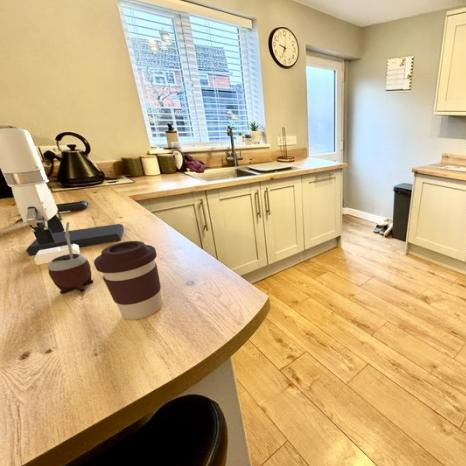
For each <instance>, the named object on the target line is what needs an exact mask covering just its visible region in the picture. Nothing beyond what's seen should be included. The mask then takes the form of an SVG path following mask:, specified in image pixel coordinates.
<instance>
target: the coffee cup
mask: <svg viewBox="0 0 466 466" xmlns="http://www.w3.org/2000/svg"><path fill="white" fill-rule="evenodd" d="M157 255H158V254H157V249H156V247H154V245H150V244H146V243H145V242H143V241H140V240H127V241H120V242H118V243H114V244H110V245H109V246H107V247H105V248H104V249H103V250H102V251H101V254H100V255H98V256H96V257H95V259H94V260H93V265H94V267H95V270H96V271H97V272H99V273H102V275H103V276H102V279H103V281H104V283H105V285H106V287H107V290H108V291H109V294H110V295H111V298H112V300H113V302H114V303H115V304H116V305H117V308H118V309H119V312H120V314H121V316H122V317H123V318H124V319H126V320H131V321H133V320H141V319H145V318H148V317H150V316H152V315H153V314H156V313H157V312H158V311H159V310H160V309H161V308H162V306H163V298H162V293H161V288H162V285H161V280H160V276H159V271H158V265H157V263H156V261H155V259H156V258H157Z"/></svg>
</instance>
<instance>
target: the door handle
mask: <svg viewBox="0 0 466 466" xmlns="http://www.w3.org/2000/svg"><path fill="white" fill-rule="evenodd" d="M88 205H89V201H87V200H80V201H74V202H73V201H72V202H65V203H56V206H57V208H58V211H59V213H60V214H67V213H68V214H69V213H71V212H77V211H84V210H87V209H88Z"/></svg>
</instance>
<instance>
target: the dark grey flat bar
mask: <svg viewBox="0 0 466 466" xmlns="http://www.w3.org/2000/svg"><path fill="white" fill-rule="evenodd" d="M124 232H125V228H124V225H123V224H122V223H116V224H109V225H101V226H93V227H87V228H86V227H85V228H80V229H79V228H78V229H72V230H69V235H70V238H69V239H70V244H75V245H78V246H79V248H84V247H89V246H96V245H102V244H109V243H115V242H122V241H121V240H122V237H123V234H124ZM52 234H53V237H54V239H55V242H54V243H50V244H44V245H39V244H38V241H37V239H36V238H35V239H34V240H33V242H31V243H30V245H28V247H27V248H26V253H27V254H28V256H30V257H31V256H34V255H35V256H36V254H37V252H38V251H39V250H44V249H49V248H55V247H60V246H66V245H68V244H67V239H66V238H65V234H66V230H64V231H63V232H58V233H52Z"/></svg>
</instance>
